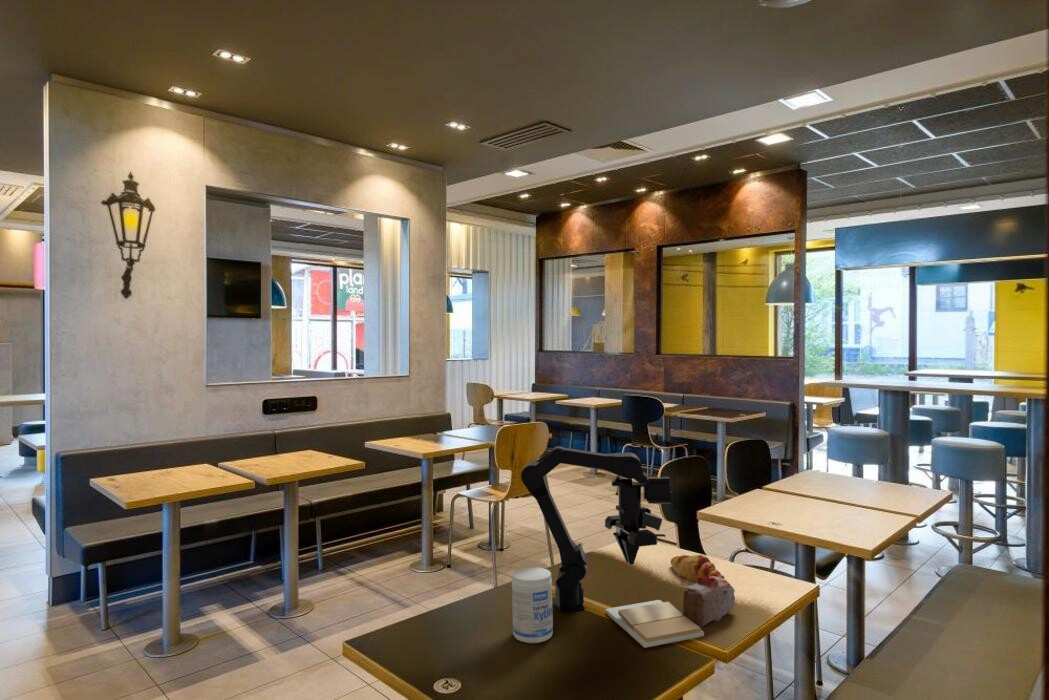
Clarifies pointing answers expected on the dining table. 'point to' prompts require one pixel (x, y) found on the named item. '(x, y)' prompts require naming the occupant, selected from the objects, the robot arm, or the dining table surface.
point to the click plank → (649, 613)
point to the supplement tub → (532, 604)
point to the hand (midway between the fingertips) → (630, 563)
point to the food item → (708, 600)
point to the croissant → (694, 567)
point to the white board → (657, 627)
